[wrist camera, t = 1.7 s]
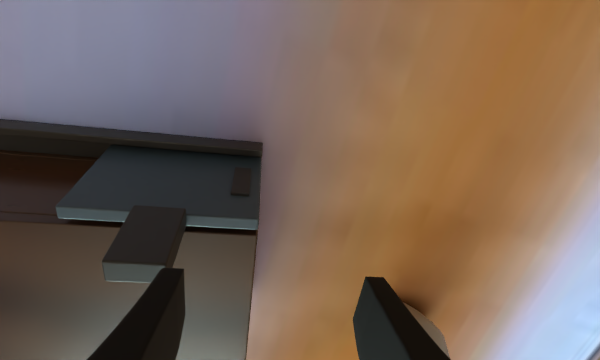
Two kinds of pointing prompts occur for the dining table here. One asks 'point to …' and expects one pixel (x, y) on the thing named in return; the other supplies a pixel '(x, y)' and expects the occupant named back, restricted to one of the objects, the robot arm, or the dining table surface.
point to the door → (162, 202)
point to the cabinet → (104, 252)
